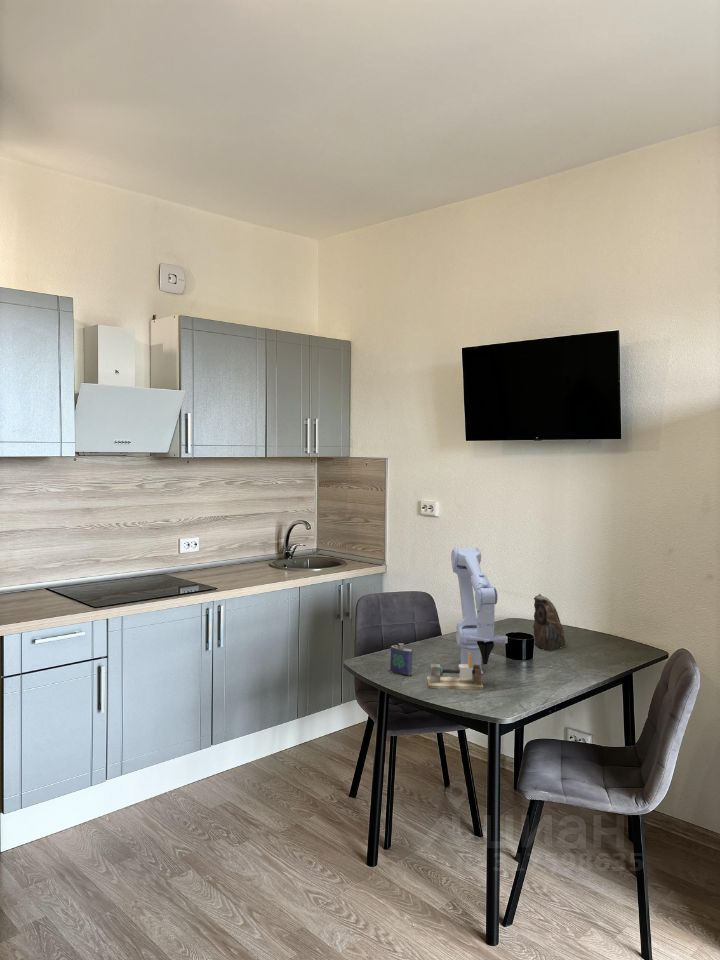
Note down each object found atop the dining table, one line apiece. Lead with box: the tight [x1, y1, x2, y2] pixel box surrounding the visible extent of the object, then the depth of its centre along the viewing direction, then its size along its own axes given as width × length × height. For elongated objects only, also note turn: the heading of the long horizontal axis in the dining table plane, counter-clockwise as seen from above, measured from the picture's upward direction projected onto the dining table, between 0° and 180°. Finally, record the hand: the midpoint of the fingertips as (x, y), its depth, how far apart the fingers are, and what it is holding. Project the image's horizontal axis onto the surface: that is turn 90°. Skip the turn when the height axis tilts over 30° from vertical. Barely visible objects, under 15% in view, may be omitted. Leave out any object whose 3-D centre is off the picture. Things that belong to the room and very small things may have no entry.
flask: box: [389, 642, 413, 677], centre depth 257 cm, size 9×3×11 cm, turn 47°
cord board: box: [426, 663, 484, 691], centre depth 245 cm, size 18×9×6 cm, turn 87°
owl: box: [532, 593, 566, 652], centre depth 293 cm, size 13×13×20 cm
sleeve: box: [458, 653, 473, 679], centre depth 245 cm, size 4×4×8 cm
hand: (484, 663), depth 245 cm, fingers closed
